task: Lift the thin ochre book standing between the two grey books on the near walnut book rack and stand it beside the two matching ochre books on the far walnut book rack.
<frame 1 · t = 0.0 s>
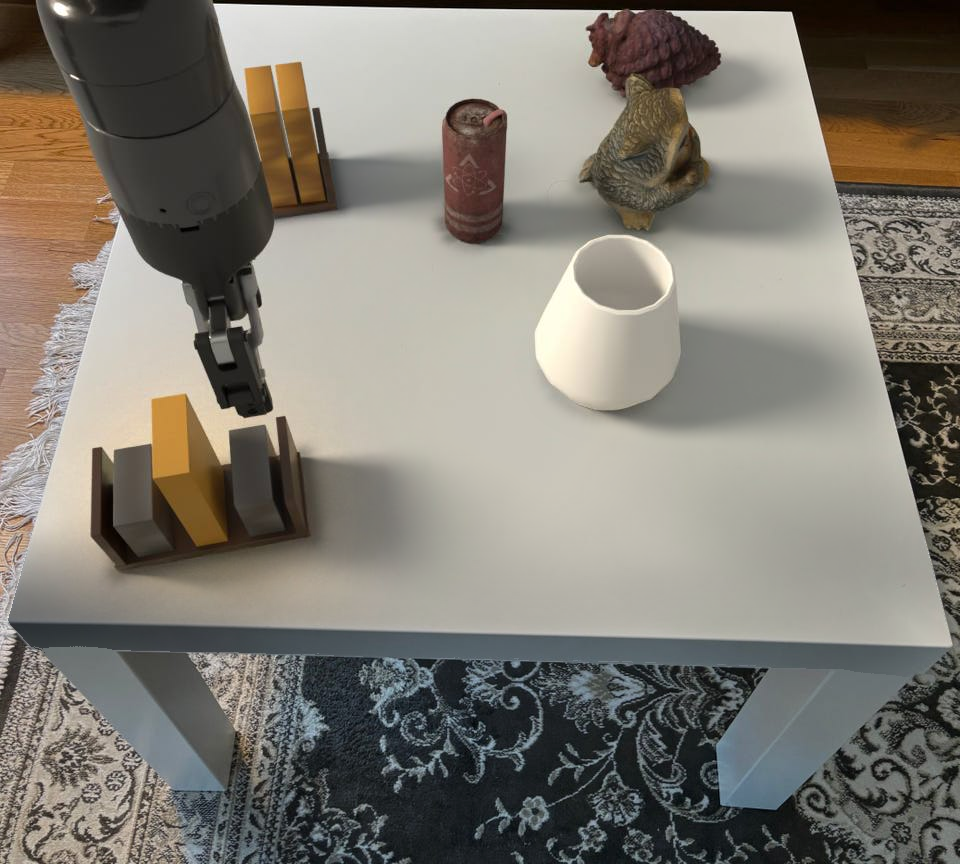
hand: (251, 356, 58), 22 cm above the table, tool pointing down, fingers open, 8 cm apart
pine cone: (648, 87, 107), on the table
ochre book: (210, 507, 76), point 1 cm above the table, touching grey rack
figurine: (645, 200, 97), on the table
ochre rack: (260, 193, 97), on the table
grey rack: (213, 512, 77), on the table
cup: (601, 371, 85), on the table
can: (474, 225, 95), on the table
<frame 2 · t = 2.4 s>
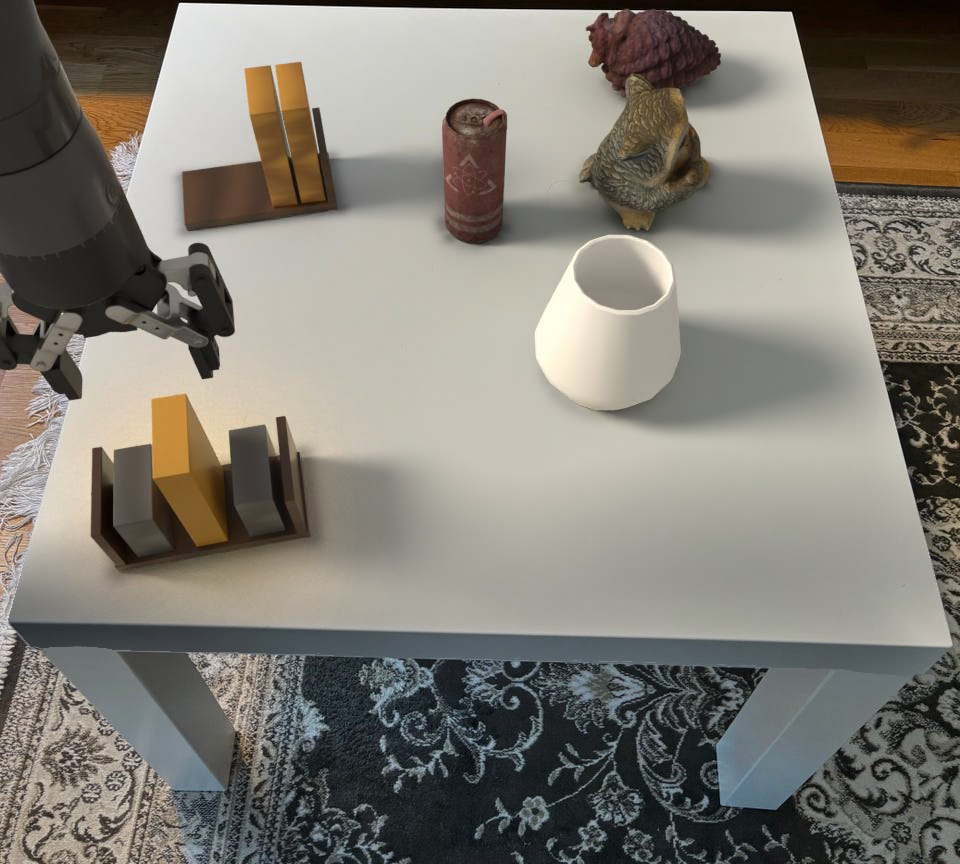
hand: (142, 378, 59), 20 cm above the table, tool pointing down, fingers open, 8 cm apart
nothing on the table moved.
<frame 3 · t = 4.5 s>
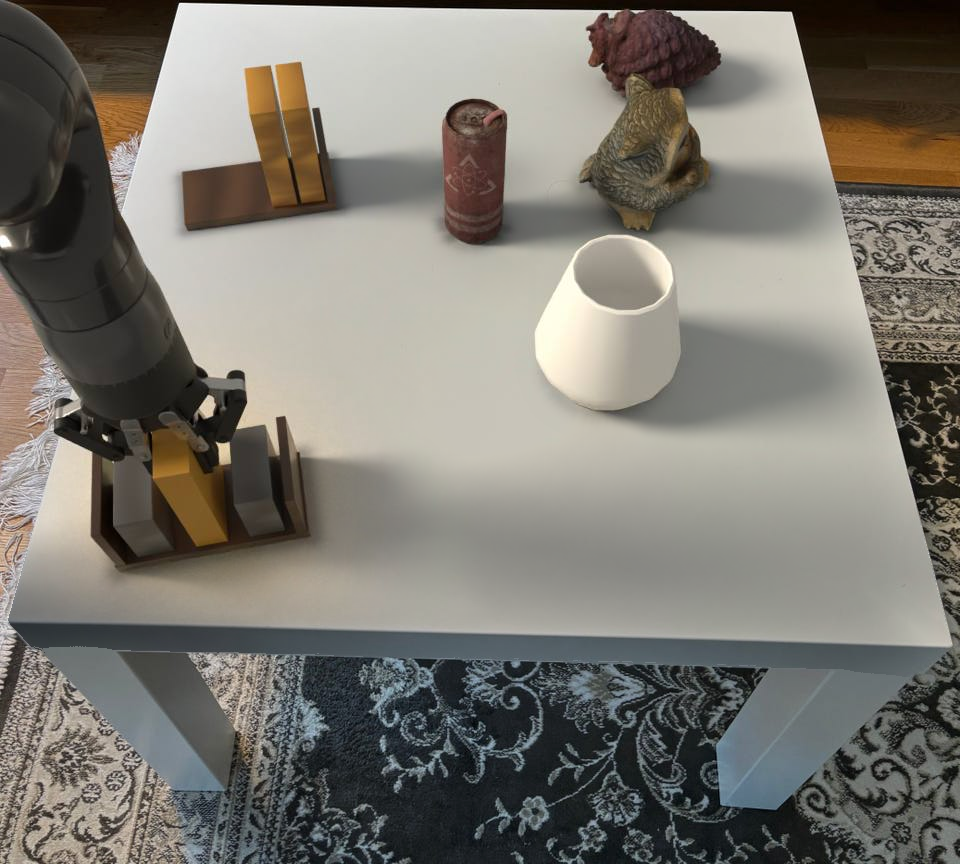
hand: (187, 466, 70), 8 cm above the table, tool pointing down, fingers closed on ochre book, 2 cm apart
ochre book: (210, 507, 76), point 1 cm above the table, touching grey rack, gripper
everything else where it was.
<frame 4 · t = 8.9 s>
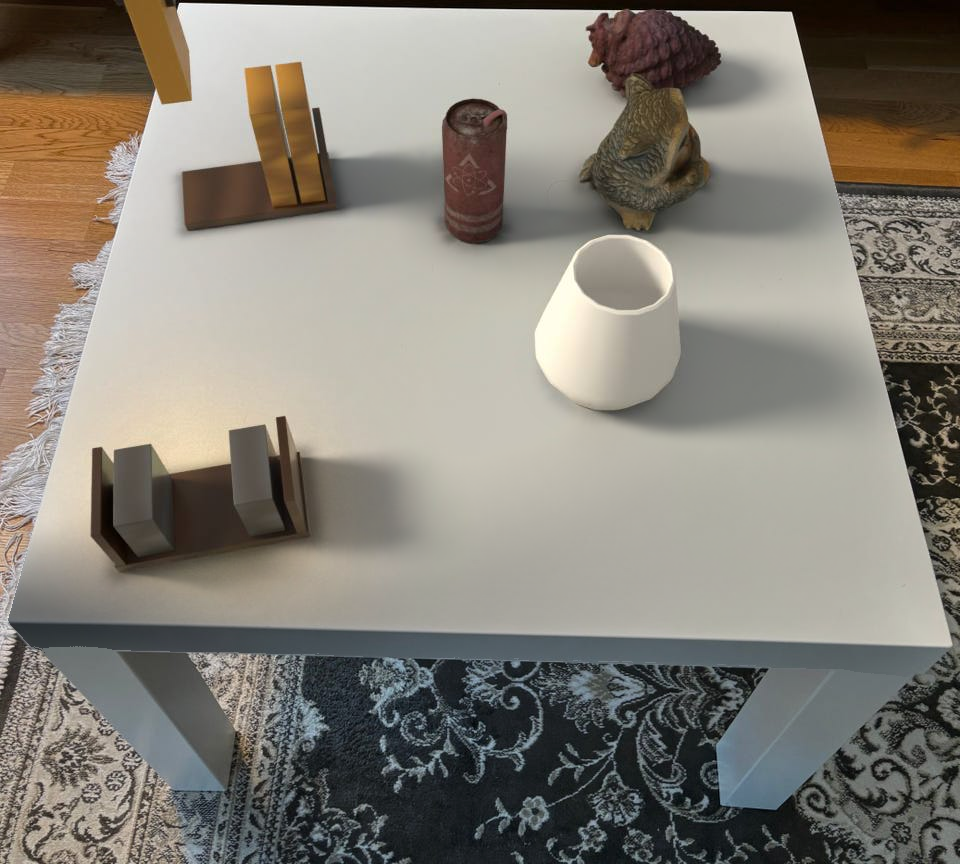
hand: (150, 2, 72), 25 cm above the table, tool pointing down, fingers closed on ochre book, 2 cm apart
ochre book: (175, 77, 78), point 18 cm above the table, touching gripper
everything else where it was.
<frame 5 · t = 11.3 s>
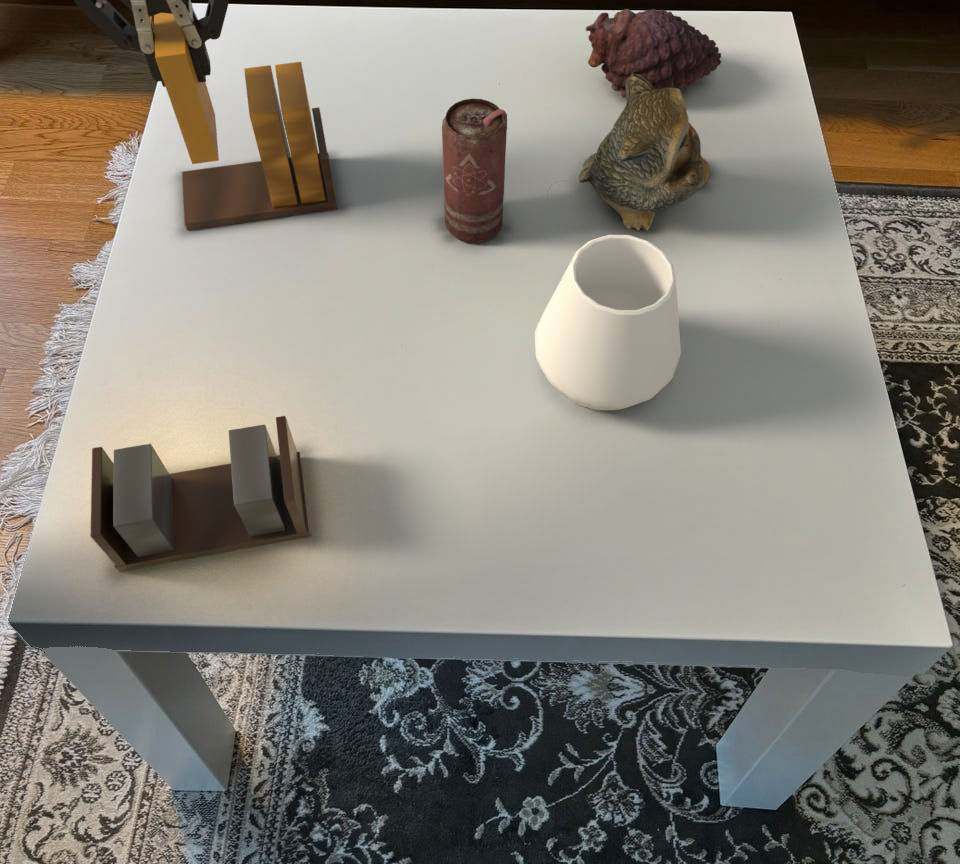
hand: (184, 78, 83), 15 cm above the table, tool pointing down, fingers closed on ochre book, 2 cm apart
ochre book: (203, 138, 89), point 8 cm above the table, touching gripper
everything else where it was.
when the fingers open (8 cm above the table, at t = 13.3 s): ochre book stays where it is, resting on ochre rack.
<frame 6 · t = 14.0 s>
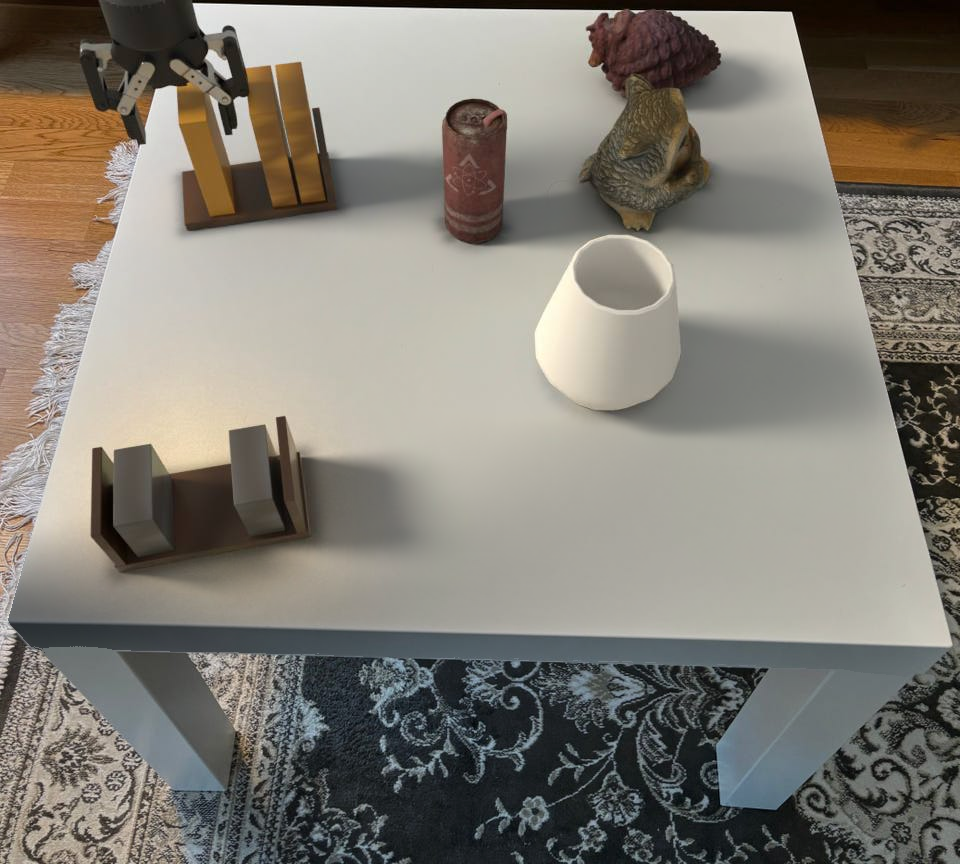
hand: (185, 134, 88), 9 cm above the table, tool pointing down, fingers open, 8 cm apart
ochre book: (221, 192, 95), point 1 cm above the table, touching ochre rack
everything else where it was.
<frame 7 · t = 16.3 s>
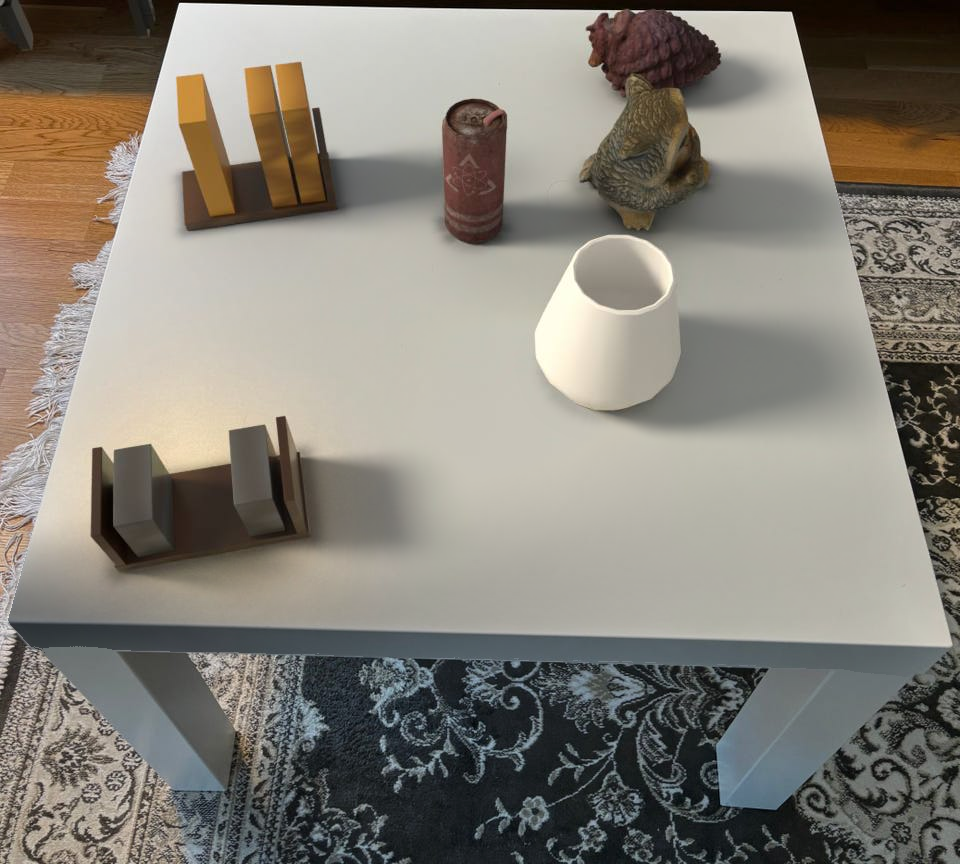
hand: (86, 38, 67), 27 cm above the table, tool pointing down, fingers open, 8 cm apart
nothing on the table moved.
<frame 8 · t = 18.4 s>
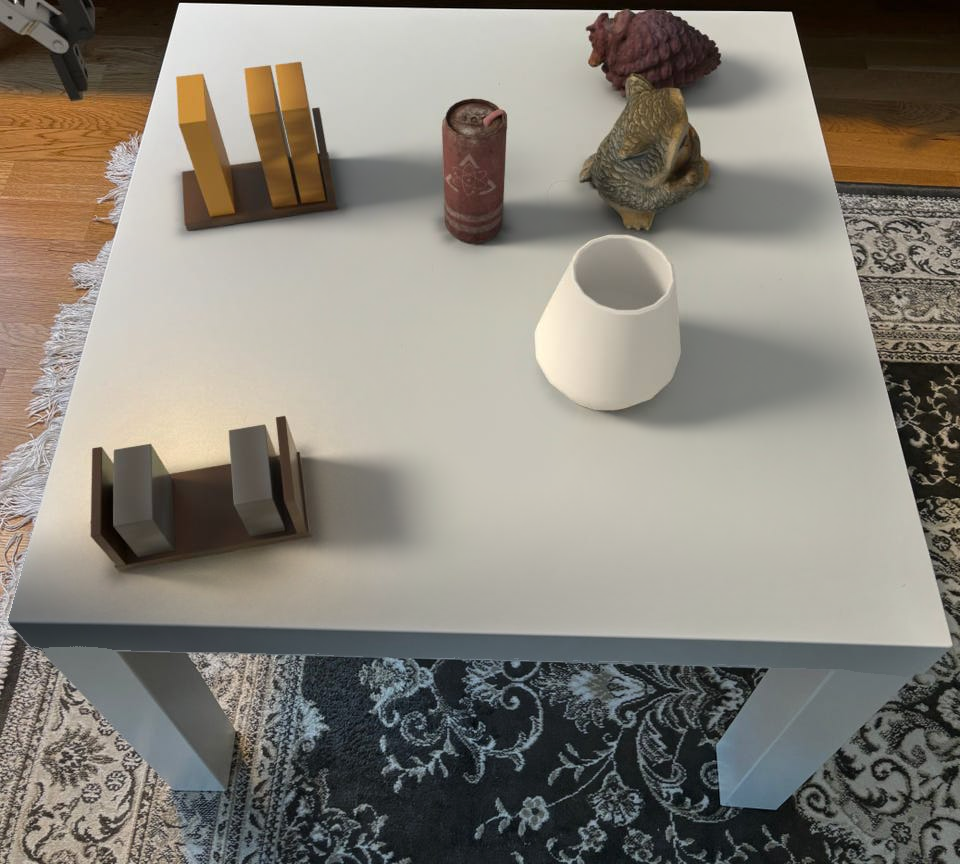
hand: (11, 101, 59), 30 cm above the table, tool pointing down, fingers open, 8 cm apart
nothing on the table moved.
at the end: ochre book 0.0 cm from the target spot on the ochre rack, point 1.0 cm above the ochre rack's base; ochre book tilted 0° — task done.
